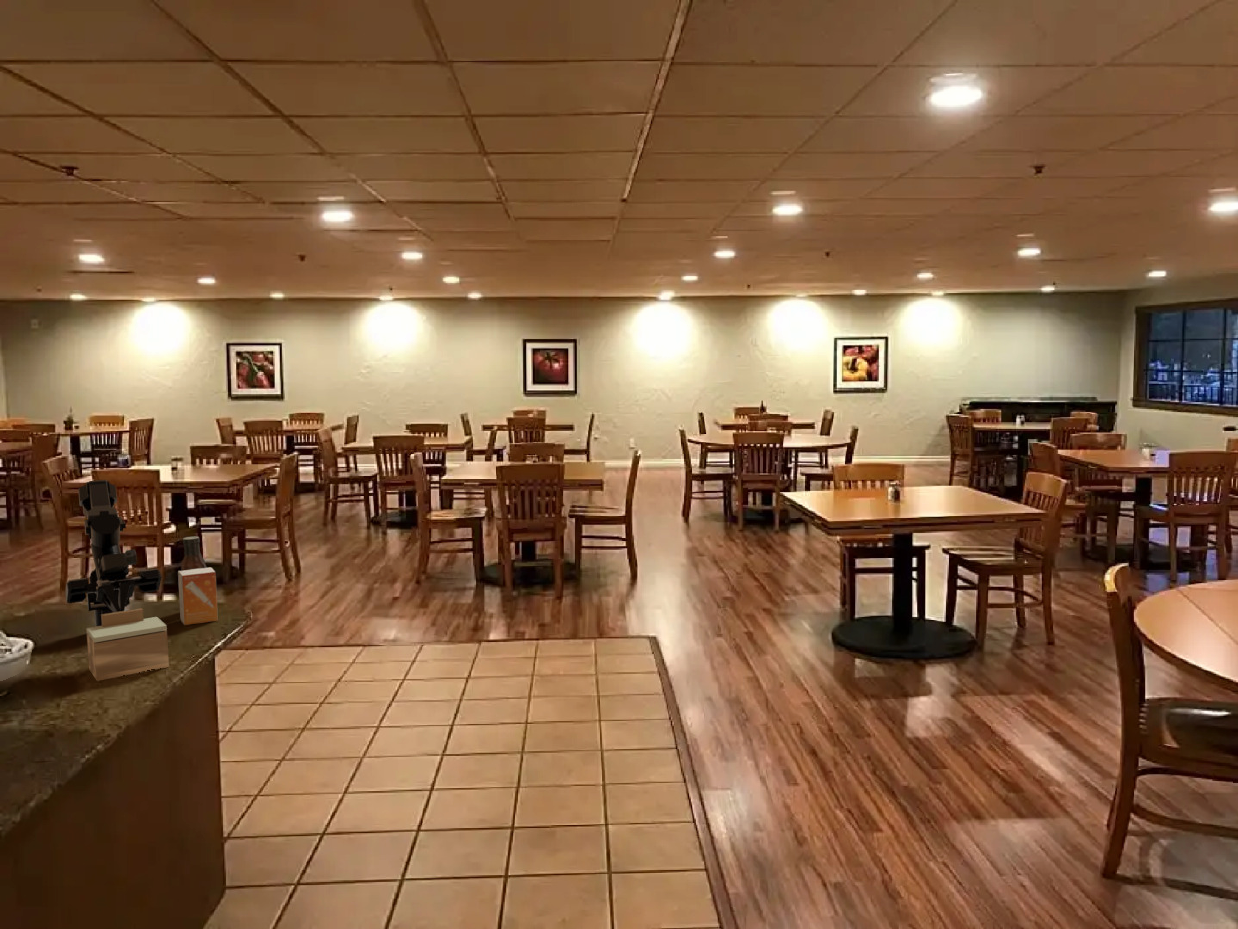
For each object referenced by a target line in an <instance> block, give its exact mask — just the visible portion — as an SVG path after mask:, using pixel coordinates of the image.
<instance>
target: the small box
mask: <svg viewBox="0 0 1238 929" xmlns="http://www.w3.org/2000/svg"><path fill="white" fill-rule="evenodd" d="M177 577H178V578H177V579H178V581H177V582H178V596H179V597H178V598H179V599H178V600H179V602H178V603H179V615H180V621H181V622H182V624H183V625H184V626H188V625H194V624H195V625H196V624H202V623H209V622H217V621H218V620H219V619H218V616H219V615H218V596H217V576H216V570H214V568H213V567H207V568H201V569H191V570H184V571H182V570H178V571H177Z"/></svg>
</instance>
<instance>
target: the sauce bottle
mask: <svg viewBox="0 0 1238 929" xmlns="http://www.w3.org/2000/svg"><path fill="white" fill-rule="evenodd" d="M200 543H201V541H200V537H199V536H186V537H184V538H182V544H183V548H184V552H183V553H184V557H183V559H182V560H181V563H180V564H181V565H180V569H181V571H184V570H191V569H201V568H208V567H207V565H206V564H207V563H205V560H204V557H203V555H202V553H201V551H200V550H201V549H200Z"/></svg>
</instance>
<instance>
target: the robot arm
mask: <svg viewBox="0 0 1238 929" xmlns="http://www.w3.org/2000/svg"><path fill="white" fill-rule="evenodd" d="M117 493H118V492H117V486H116V485H114V484H113V483H110V480H107V479H98V480H97V479H96V480H89V481H86V484H85V485H82V486H81V487H78V501H79V507H82V511H83V512H82V513H83V515H84V517H86V519H84V521H83V523H84V532H85V533H84V534H85V536H86V535H88V538H89V540H91V543H90V550H91V552H92V554H91V555H92V558H93V563H94V569H93V570H92V571H91V573H90V576H89V581H88V578H87V577H84V578H83V577H82V578H75V579H69V580H67V582H66V584H65V594H64V595H65V600H66V603H67V604H68V605H69V604H76V603H83V602H84V601H87V610H88V612H92V611H94V621H95V622H94V623H95V624H94V625H95V627H97V626H102V620H101V614H107V613H114V612H120V611H126V607H128V606H129V605H130V604H131V603H130V598H132V597H133V595H134V591H135V587H138V588H139V591H140V592H142V593H143V594H145V593H151V592H157V591H158V590H160V587H161V582H162V573H161V571H160V570H159V569H158V568H151V569H141V570H140V572H139V576H134V577H128V576H129V573H130V570H129V567H130V566H133V565H134V566H135V565H137V563H138V556H137V552H136V549H135V548H134V549H128V550H125V552H121V551H122V550H121V546H120V541H121V532H122V533H123V532H124V529H126V528H127V525H126V522H125V520H123V517H122V516H119V514H118V509H116V508H115V504H117V503H118V494H117ZM86 599H87V600H86Z"/></svg>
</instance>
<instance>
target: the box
mask: <svg viewBox="0 0 1238 929" xmlns="http://www.w3.org/2000/svg"><path fill="white" fill-rule="evenodd" d="M168 642H169V641H168V630H165V631H159V632H153V633H147V634H141V635H136V636H130V637H124V638H118V639H112V640H106V641H101V642H95V643H94V641H93V640H92V639H91V638H90V636H89V635H88V634H87V633H86V643H87V655H88V667H89V668H88V669H89V671H90V672H91V674H92V676H93V677H94V679H95V680H96V681H97V682H99V681H103V680H109V679H114V678H118V677H119V678H120V677H123V675H125V676H129V675H134V674H140V673H143V672H142V671H145V672H148V671H147V670H150V671H152V670H151V669H155V670H159V669H160V668H161V669H165V668H170V663H169V661H170V659H169V644H168ZM139 672H140V673H139Z"/></svg>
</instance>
